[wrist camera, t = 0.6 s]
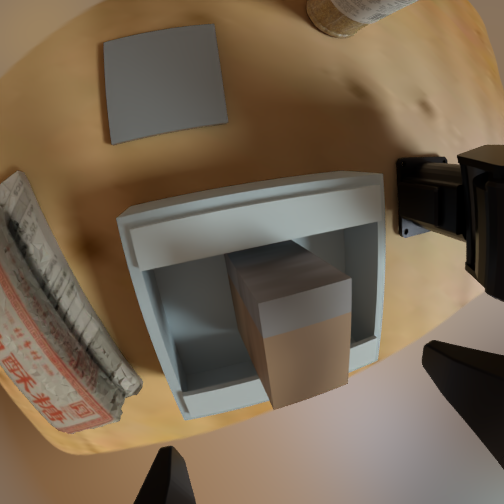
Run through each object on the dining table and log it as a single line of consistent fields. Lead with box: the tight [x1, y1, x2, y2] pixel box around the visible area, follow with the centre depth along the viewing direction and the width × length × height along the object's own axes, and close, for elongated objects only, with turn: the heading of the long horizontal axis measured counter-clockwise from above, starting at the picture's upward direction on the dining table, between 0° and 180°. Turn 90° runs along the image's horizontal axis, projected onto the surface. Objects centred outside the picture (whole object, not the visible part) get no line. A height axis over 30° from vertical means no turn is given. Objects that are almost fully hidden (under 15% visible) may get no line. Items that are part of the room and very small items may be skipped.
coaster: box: [104, 24, 228, 145], centre depth 15 cm, size 7×7×1 cm
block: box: [224, 240, 352, 410], centre depth 16 cm, size 4×6×8 cm, turn 8°
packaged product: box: [0, 170, 143, 434], centre depth 15 cm, size 18×5×10 cm
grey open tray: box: [116, 171, 385, 420], centre depth 18 cm, size 14×13×5 cm
